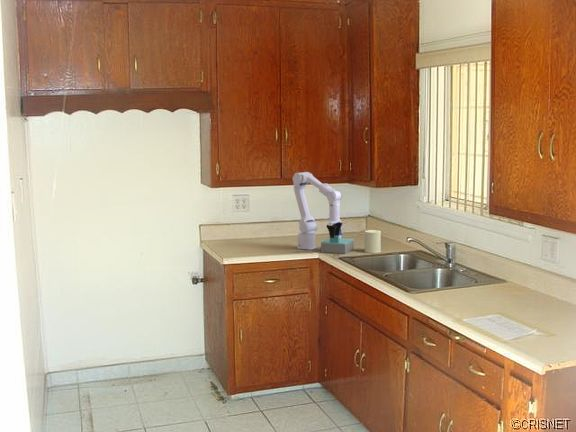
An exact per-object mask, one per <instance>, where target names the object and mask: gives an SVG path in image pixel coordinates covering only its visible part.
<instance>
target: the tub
mask: <svg viewBox="0 0 576 432" xmlns="http://www.w3.org/2000/svg"><path fill="white" fill-rule="evenodd" d="M326 240H330V237H329V238H327V239H326ZM339 241H349V243H348V244H346V245H335V244H321V243H320V253H324V254H336V255H337V254H340V255H346V254H348V253H349V252H351V251H353V250H354V249H355V248H354V247H355V246H354V243H355V239H354V238H341V237H339Z"/></svg>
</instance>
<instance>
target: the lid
mask: <svg viewBox="0 0 576 432" xmlns="http://www.w3.org/2000/svg"><path fill="white" fill-rule="evenodd" d="M329 238H330V237H329ZM339 238H340V236H335V237H334V238H330V240H327V239H325V240H323V241H321V243H320V245H321V244H335V245H346V244H348V243H349V241H339Z"/></svg>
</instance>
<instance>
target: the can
mask: <svg viewBox="0 0 576 432" xmlns="http://www.w3.org/2000/svg"><path fill="white" fill-rule="evenodd" d="M381 234H382V231H381V230H379V229H377V230H376V229H368V230H367V229H366V230H364V251H363V252H364V253H368V254H378V253H381V252H382V250H381V247H382V246H381V245H382V244H381V241H382V240H381V239H382V237H381V236H382V235H381Z"/></svg>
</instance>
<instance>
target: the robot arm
mask: <svg viewBox="0 0 576 432" xmlns="http://www.w3.org/2000/svg"><path fill="white" fill-rule="evenodd" d="M292 183H293V191H294V194H295V200H296V203H297V206H298V210H299V215H300V220H299V221H298V224H299V233H298V235H297V250H311V251H313V250H315V249H317V248H318V246H316V244H315V242H316V239H315V237H316V231H318V230H317V229H318V223H317V222H316V220H315V218H314V217H313V216H312V215H311V211H310V207H309V205H308V201H307V197H306V193H305V187H307V185H308V184H310V185H312V186H313V187H316V188H317V189H318V191H319V193H320V194H322V195H323V196H325V197H326V199H327V201H328V204H329V209H328V210H329V212H328V213H329V214H328V215H329V216H328V217H329V220H328V224H326V228H327V230H328V233H329V234H328V235H329V238H334V237H335V236H339V235H340V232H341V227H342V226H343V222H342V221H343V220H341V217H340V215H341V213H340V212H341V211H340V209H341V207H340V205H341V202H340V201H341V200H342V197H343V195H342V193H341V191H340V190H338V189H337V190H336V189H335V188H333V187H331V186H330V184H329V183H322V182H321V181H320V180H319V179H317V178H316V177H314V175H313V173H311V172H309V171H304V172H295V173H294V175H293V176H292ZM339 237H340V236H339Z"/></svg>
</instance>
